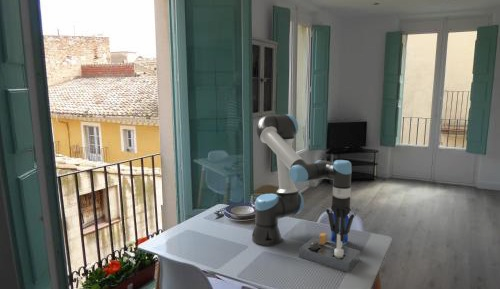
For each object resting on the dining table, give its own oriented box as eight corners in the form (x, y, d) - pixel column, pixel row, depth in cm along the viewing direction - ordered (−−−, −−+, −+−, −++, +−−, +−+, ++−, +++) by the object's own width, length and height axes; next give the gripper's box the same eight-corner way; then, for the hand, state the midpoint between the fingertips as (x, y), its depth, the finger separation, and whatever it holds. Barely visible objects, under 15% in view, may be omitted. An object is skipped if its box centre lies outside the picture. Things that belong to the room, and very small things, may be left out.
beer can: (348, 246, 176) (349, 216, 174) (330, 245, 178) (331, 214, 175) (346, 239, 184) (348, 210, 182) (330, 238, 186) (331, 209, 183)
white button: (332, 257, 157) (332, 250, 156) (336, 254, 160) (336, 247, 159) (341, 260, 155) (341, 253, 154) (344, 256, 158) (345, 249, 157)
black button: (308, 250, 164) (308, 243, 163) (312, 247, 167) (312, 240, 167) (316, 252, 162) (316, 245, 161) (320, 249, 165) (320, 242, 164)
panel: (298, 256, 166) (299, 246, 165) (312, 246, 177) (312, 236, 176) (348, 272, 152) (349, 261, 151) (359, 260, 163) (360, 249, 162)
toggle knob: (318, 244, 169) (319, 234, 168) (321, 241, 171) (322, 232, 170) (323, 245, 167) (323, 236, 166) (326, 242, 170) (326, 233, 169)
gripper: (323, 195, 154) (322, 246, 157) (352, 201, 146) (350, 254, 150) (330, 191, 159) (329, 240, 163) (359, 196, 152) (356, 248, 156)
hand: (339, 247), depth 156 cm, fingers closed
